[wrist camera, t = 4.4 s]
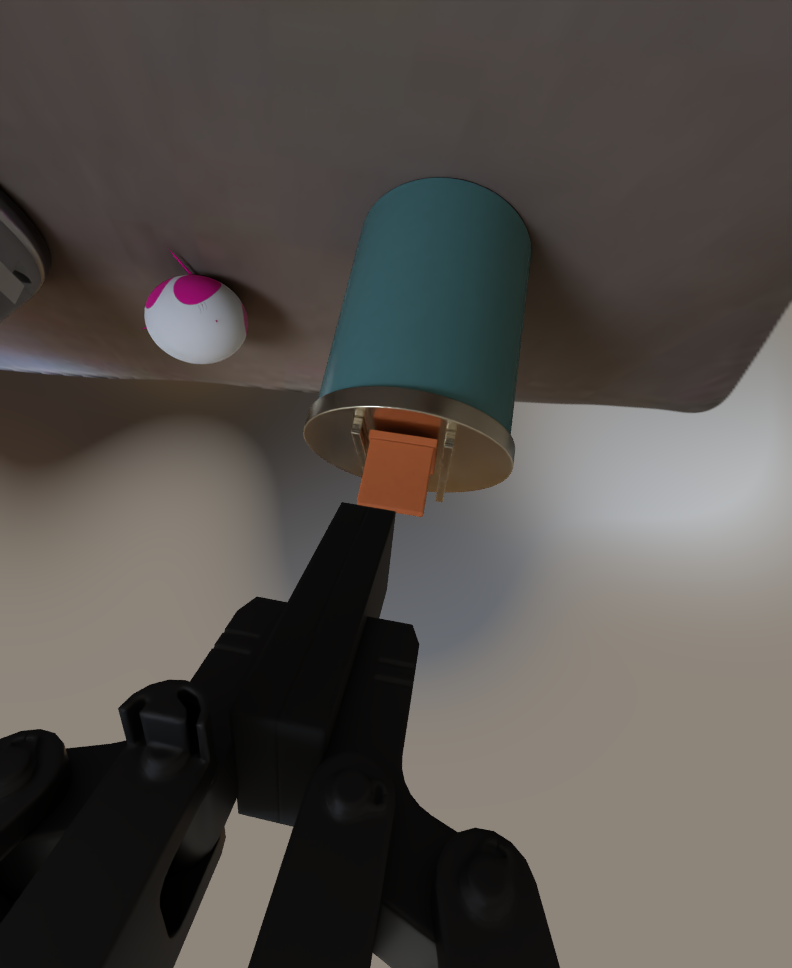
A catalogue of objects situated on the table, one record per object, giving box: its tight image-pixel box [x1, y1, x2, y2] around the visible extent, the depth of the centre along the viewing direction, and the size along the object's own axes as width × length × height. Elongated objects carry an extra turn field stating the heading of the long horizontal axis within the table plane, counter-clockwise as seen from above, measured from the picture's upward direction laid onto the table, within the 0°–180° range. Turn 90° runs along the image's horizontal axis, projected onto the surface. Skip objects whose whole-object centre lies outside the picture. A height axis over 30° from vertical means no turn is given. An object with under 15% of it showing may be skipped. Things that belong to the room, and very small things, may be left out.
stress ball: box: [143, 247, 248, 364], centre depth 34 cm, size 8×8×7 cm
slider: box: [357, 429, 438, 517], centre depth 22 cm, size 4×3×3 cm
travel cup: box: [303, 177, 531, 502], centre depth 26 cm, size 11×11×14 cm
